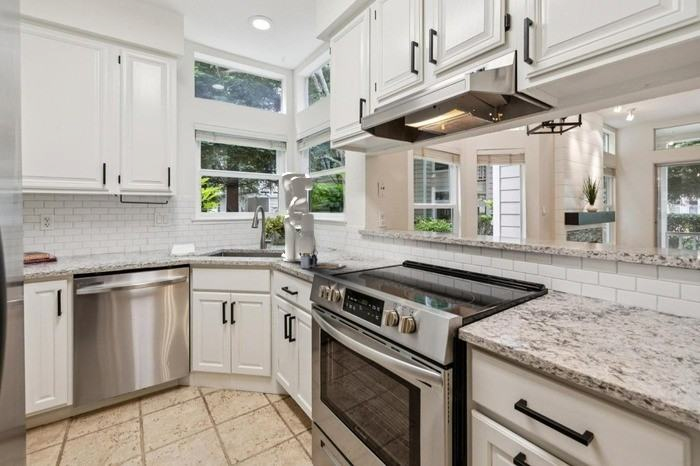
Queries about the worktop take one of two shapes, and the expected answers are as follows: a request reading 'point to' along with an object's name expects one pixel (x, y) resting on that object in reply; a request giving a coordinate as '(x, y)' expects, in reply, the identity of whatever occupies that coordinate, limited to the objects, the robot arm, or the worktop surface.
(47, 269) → the worktop surface
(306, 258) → the module
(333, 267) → the rail board
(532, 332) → the worktop surface
